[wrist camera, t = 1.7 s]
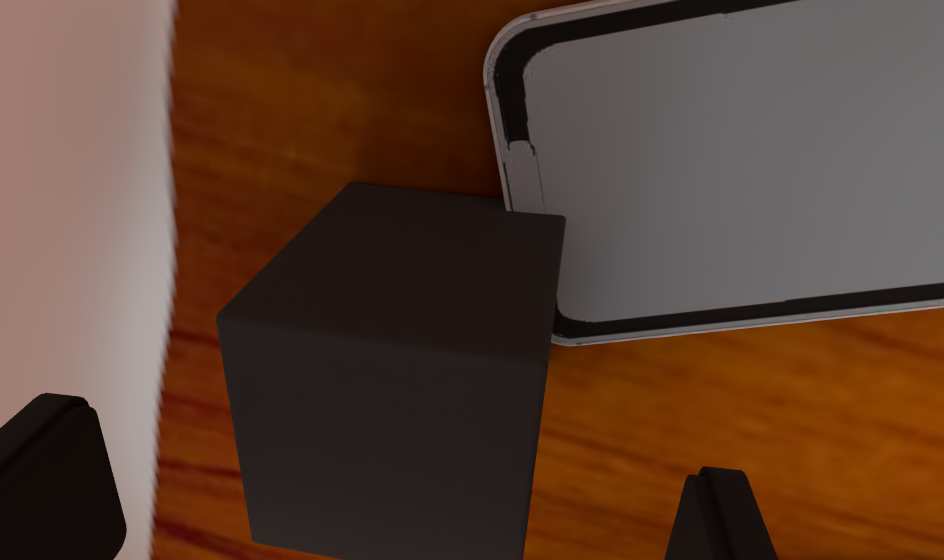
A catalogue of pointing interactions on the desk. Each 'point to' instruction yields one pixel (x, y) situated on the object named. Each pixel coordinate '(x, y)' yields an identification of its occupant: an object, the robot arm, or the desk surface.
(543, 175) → the smartphone
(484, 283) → the dark grey cube
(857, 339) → the desk surface
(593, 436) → the desk surface
